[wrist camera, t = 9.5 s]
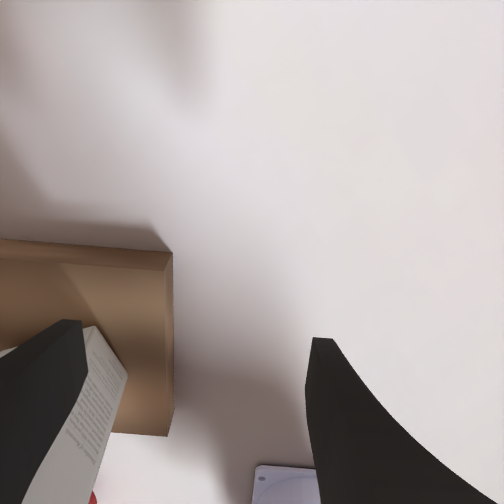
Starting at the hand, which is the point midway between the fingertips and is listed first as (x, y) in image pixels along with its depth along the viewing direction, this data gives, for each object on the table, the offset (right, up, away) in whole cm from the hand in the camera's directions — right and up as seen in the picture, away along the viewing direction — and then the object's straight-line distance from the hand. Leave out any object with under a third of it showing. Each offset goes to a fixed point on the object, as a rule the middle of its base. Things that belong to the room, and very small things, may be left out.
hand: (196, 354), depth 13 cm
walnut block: (-9, -1, +13) cm, 16 cm away
